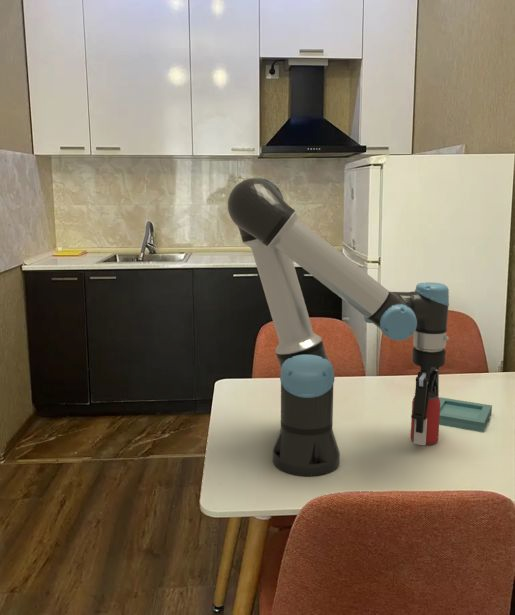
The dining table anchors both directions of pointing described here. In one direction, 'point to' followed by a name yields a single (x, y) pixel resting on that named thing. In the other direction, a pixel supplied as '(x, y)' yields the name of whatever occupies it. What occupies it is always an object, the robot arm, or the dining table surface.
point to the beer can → (430, 419)
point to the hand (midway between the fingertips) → (424, 436)
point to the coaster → (464, 414)
